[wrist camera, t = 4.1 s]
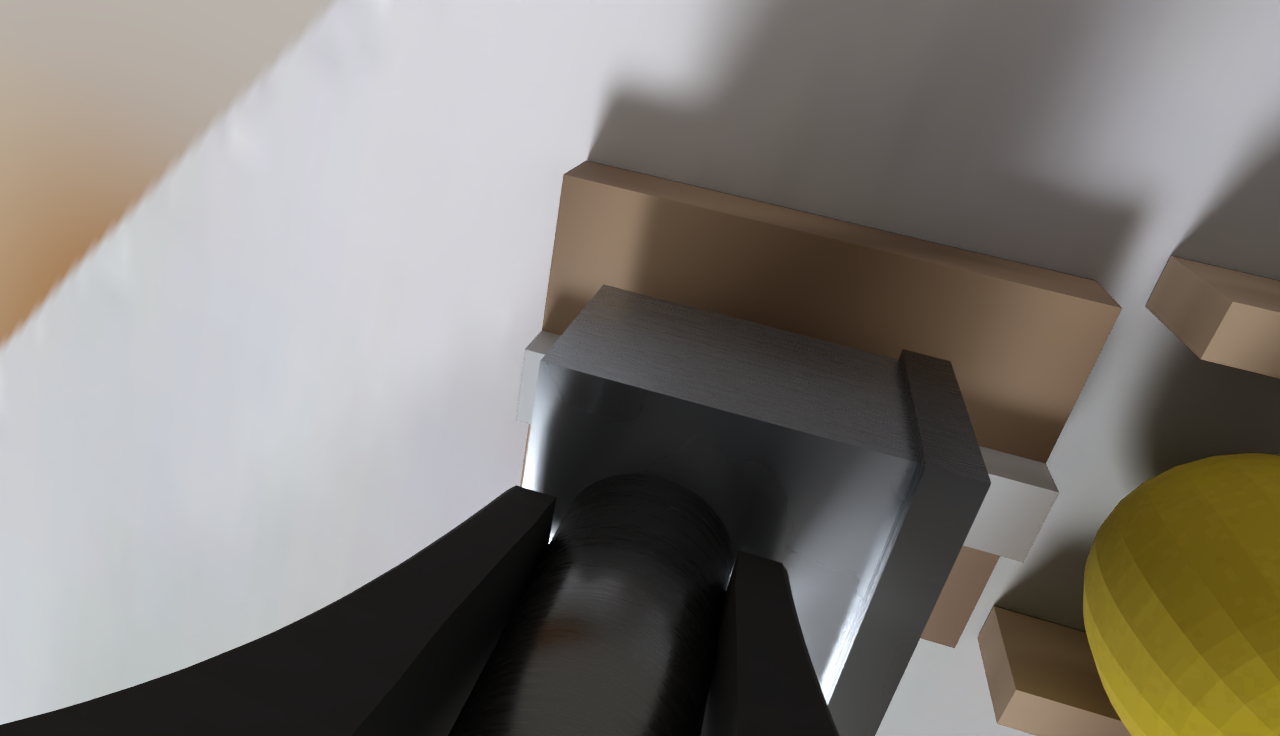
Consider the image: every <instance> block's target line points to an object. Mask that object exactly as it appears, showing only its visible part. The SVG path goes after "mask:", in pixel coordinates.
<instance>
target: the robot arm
mask: <svg viewBox="0 0 1280 736" xmlns="http://www.w3.org/2000/svg"><path fill="white" fill-rule="evenodd" d="M555 503H556V497H554V496H551V495H547V494H544V493H540V492H537V491H533V490H530V489H526V488H523V487H520V486H514V487H512V488H510V489H508V490H507V491H506V492H504V493H503V494H501V495H500V496H499V497H497V498H496V499H495V500H493V501H492V502H491V503H489V504H488V505H486V506H485V507H484V508H482V509H481V510H480V511H478V512H477V513H475V514H474V515H473V516H471V517H470V518H468V519H467V520H466V521H464V522H463V523H461V524H460V525H458V526H457V527H456V528H454V529H453V530H451V531H450V532H448V533H447V534H445V535H444V536H442V537H441V538H439V539H438V540H436V541H435V542H433V543H432V544H430V545H429V546H427V547H426V548H424V549H423V550H421V551H420V552H418V553H417V554H415V555H414V556H412V557H411V558H409V559H407V560H406V561H404V562H403V563H401V564H399V565H398V566H396V567H394V568H393V569H391V570H389V571H388V572H386V573H384V574H383V575H381V576H379V577H377V578H376V579H374V580H372V581H371V582H369V583H367V584H365V585H364V586H362V587H360V588H359V589H357V590H355V591H354V592H352V593H350V594H348V595H346V596H345V597H343V598H341V599H339V600H337V601H335V602H333V603H332V604H330V605H328V606H326V607H324V608H322V609H320V610H318V611H316V612H314V613H312V614H310V615H308V616H306V617H304V618H302V619H300V620H298V621H296V622H294V623H292V624H290V625H288V626H285V627H283V628H281V629H279V630H277V631H275V632H273V633H271V634H268V635H266V636H264V637H261V638H259V639H257V640H254V641H252V642H250V643H247V644H245V645H242V646H240V647H237V648H235V649H232V650H230V651H227V652H225V653H222V654H220V655H218V656H215V657H213V658H210V659H208V660H205V661H203V662H200V663H198V664H195V665H193V666H190V667H188V668H185V669H182V670H180V671H177V672H174V673H171V674H168V675H165V676H163V677H160V678H157V679H154V680H151V681H148V682H145V683H142V684H139V685H136V686H134V687H130V688H127V689H124V690H121V691H118V692H115V693H112V694H108V695H105V696H102V697H99V698H96V699H93V700H89V701H86V702H83V703H80V704H76V705H73V706H69V707H66V708H63V709H59V710H56V711H52V712H48V713H45V714H41V715H37V716H33V717H29V718H26V719H22V720H18V721H14V722H10V723H6V724H3V725H0V736H448V734H449V732H450V730H451V729H452V727H453V725H454V723H455V721H456V719H457V717H458V715H459V713H460V712H461V710H462V708H463V706H464V704H465V702H466V700H467V698H468V696H469V695H470V693H471V691H472V689H473V687H474V685H475V683H476V681H477V679H478V678H479V676H480V674H481V672H482V670H483V668H484V666H485V664H486V662H487V660H488V659H489V657H490V655H491V653H492V651H493V649H494V647H495V645H496V643H497V642H498V640H499V638H500V636H501V634H502V632H503V630H504V628H505V626H506V625H507V623H508V621H509V619H510V617H511V615H512V613H513V611H514V609H515V608H516V606H517V604H518V602H519V600H520V598H521V596H522V594H523V592H524V591H525V589H526V587H527V585H528V583H529V581H530V579H531V577H532V575H533V573H534V572H535V570H536V568H537V566H538V564H539V562H540V560H541V558H542V556H543V555H544V553H545V551H546V549H547V547H548V545H549V539H550V533H551V527H552V521H553V515H554V509H555ZM701 736H840V735H839V733H838V730H837V728H836V726H835V723H834V721H833V718H832V716H831V713H830V710H829V708H828V705H827V703H826V700H825V698H824V695H823V692H822V689H821V686H820V684H819V681H818V678H817V675H816V672H815V670H814V667H813V664H812V661H811V658H810V655H809V652H808V649H807V646H806V643H805V640H804V636H803V633H802V629H801V626H800V622H799V619H798V615H797V612H796V608H795V604H794V600H793V596H792V592H791V587H790V582H789V577H788V572H787V570H786V568H785V567H784V565H783V563H781V562H778V561H774V560H771V559H767V558H764V557H760V556H757V555H753V554H750V553H747V552H743V551H740V550H739V551H738V554H737V557H736V560H735V564H734V567H733V570H732V574H731V577H730V580H729V583H728V587H727V590H726V594H725V600H724V605H723V611H722V616H721V622H720V627H719V633H718V638H717V644H716V651H715V659H714V665H713V671H712V676H711V682H710V687H709V693H708V698H707V704H706V709H705V715H704V720H703V726H702V731H701Z"/></svg>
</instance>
